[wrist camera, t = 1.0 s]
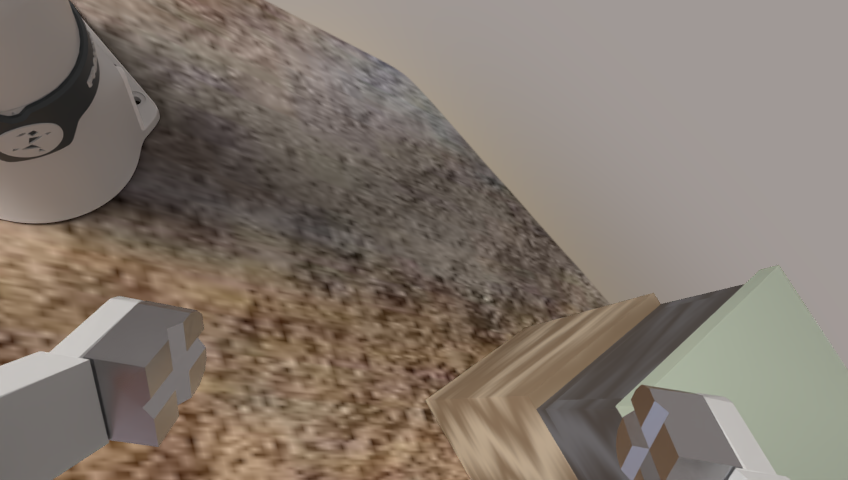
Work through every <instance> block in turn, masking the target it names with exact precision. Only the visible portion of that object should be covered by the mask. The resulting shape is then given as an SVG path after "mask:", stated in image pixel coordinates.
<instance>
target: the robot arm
mask: <svg viewBox="0 0 848 480" xmlns="http://www.w3.org/2000/svg"><path fill="white" fill-rule="evenodd" d="M135 101H139V102H141V103H140V104H138V105H136V102H135ZM159 119H160V112H159V110H158V108H157V106H156V104H155V103H154V102H153V100H152V99H151V98H150V97H149V96H148V95H147V93H146V92H145V91H144V90H143V89H142V88H141V86H140V85H139V84H138V83H137V82H136V81H135V79H134V78H133V77H132V76H131V75H130V74H129V72H128V71H127V70H126V69H125V68H124V67H123V65H122V64H121V63H120V62H119V61H118V60H117V58H116V57H115V56H114V55H113V54H112V53H111V51H110V50H109V49H108V48H107V47H106V46H105V44H104V43H103V42H102V41H101V40H100V39H99V37H98V36H97V35H96V34H95V33H94V32H93V30H92V29H91V28H90V27H89V26H88V24H87V23H86V22H85V21H84V20H83V19H82V17H81V16H80V14H79V13H78V11H77V10H76V8H75V7H74V5H73V4H72V3H71V2H70V1H69V0H0V219H3V220H8V221H13V222H21V223H50V222H57V221H63V220H68V219H71V218H75V217H78V216H81V215H84V214H86V213H89V212H91V211H93V210H95V209H97V208H99V207H101V206H102V205H104V204H105V203H107V202H108V201H110V200H111V199H112V198H113V197H115V196H116V195H117V194H118V193H119V192H120V191H121V190H122V189H123V188H124V187H125V186H126V184H127V183H128V182H129V180H130V179H131V177H132V175H133V173H134V171H135V169H136V167H137V164H138V161H139V157H140V152H141V147H142V144H143V142H144V139H145V138H146V137H147V136H148V135H149V133H150V132H151V131H152V130H153V129H154V127H155V126H156V125H157V123H158V121H159ZM203 329H204V325H203V317H202V314H201V313H200V312H198V311H197V310H192V309H187V308H182V307H176V306H171V305H166V304H161V303H155V302H150V301H142V300H137V299H132V298H126V297H121V296H118V297H114V298H111V299H109V300H108V301H107V302H106V303H105V304H104V305H102V306H101V307H100V308H99V309H98V310H97V311H96V312H94V313H93V314H92V315H91V316H90V317H89V318H88V319H87V320H85V321H84V322H83V323H82V324H81V325H80V326H79V327H77V328H76V329H75V330H74V331H73V332H72V333H71V334H70V335H68V336H67V337H66V338H65V339H64V340H63V341H62V342H60V343H59V344H58V345H57V346H56V347H55V348H54V349H53V350H51V351H50V352H49V353H48V352H41V351H39V352H37V353H34V354H31V355H29V356H26V357H23V358H21V359H18V360H15V361H12V362H10V363H7V364H4V365H2V366H0V480H53V479H54V478H56V477H57V476H59V475H60V474H62V473H63V472H65V471H66V470H68V469H70V468H71V467H73V466H74V465H76V464H77V463H79V462H80V461H82V460H83V459H85V458H86V457H88V456H89V455H91V454H92V453H94V452H96V451H97V450H99V449H100V448H102V447H103V446H105V445H106V444H108V443H109V440H113V441H120V442H127V443H134V444H141V445H149V446H156V447H159V445H160V444H161V442H162V441H163V439H164V438H165V436H166V435H167V433H168V432H169V430H170V429H171V427H172V426H173V425H174V423H175V422H176V420H177V419H178V417H179V413H178V405H179V404H180V403H182V402H184V401H186V400H188V399H190V398H191V397H192V396H193V394H194V393H195V391H196V390H197V388H198V387H199V385H200V382H201V379H202V377H203V374H204V371H205V365H206V347H205V346H204V345H203V344H202V342H201V341H200V340H199V339H198V338H197V337H198V336H199V335H200V333H201V332H202V331H203ZM631 402H632V405H633V407H634V411H632V412H630V413H629V414H627V415H625V416H624V417H623V418H622V420H621V423H620V425H619V427H618V430H617V438H616V452H617V459H618V462H619V466H620V469H621V470H622V472H623V473H624V474H625V475H626V476H627V477H628V478H629V479H630V480H790V479H789V478H788V477H786V476H781V475H777V474H776V472H775V471H774V469H773V467H772V466H771V464H770V462H769V461H768V459H767V458H766V456H765V454H764V453H763V451H762V449H761V448H760V446H759V445H758V443H757V441H756V440H755V438H754V436H753V435H752V433H751V432H750V430H749V428H748V427H747V425H746V423H745V422H744V420H743V419H742V417H741V415H740V414H739V412H738V411H737V409H736V407H735V406H734V404H733V403H732V402H731V401H730V400H729V399H727V398H726V397H723V396H716V395H709V394H702V393H692V392H685V391H679V390H673V389H667V388H660V387H654V386H648V385H640V386H639V387H638V388H637V389H636V390H635V392H634V394H633V396H632V398H631Z"/></svg>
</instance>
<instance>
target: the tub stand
mask: <svg viewBox="0 0 848 480" xmlns="http://www.w3.org/2000/svg"><path fill="white" fill-rule="evenodd" d="M742 286H743V285H739V286H735V287H731V288H727V289H723V290H719V291H715V292H710V293H706V294H702V295H698V296H694V297H689V298H685V299H681V300H677V301H672V302H669V303H664V304H660V302H659V301H658V299H657V298H656V296H655V294H654V293H652V294H648V295H645V296H640V297H637V298H633V299H629V300H626V301H622V302H619V303H615V304H611V305H607V306H603V307H600V308H596V309H592V310H588V311H585V312H581V313H577V314H574V315H570V316H566V317H563V318H559V319H555V320H551V321H548V322H544V323H540V324H537V325H533V326H529V327H526V328H525V329H523V330H522V331H520V332H519V333H518V334H516V335H515V336H514V337H512V338H511V339H509V340H508V341H507V342H505V343H504V344H502V345H501V346H500V347H498V348H497V349H496V350H494V351H493V352H491V353H490V354H489V355H487V356H486V357H484V358H483V359H482V360H480V361H479V362H478V363H476V364H475V365H473V366H472V367H471V368H469V369H468V370H467V371H465V372H464V373H462V374H461V375H460V376H458V377H457V378H455V379H454V380H453V381H451V382H450V383H449V384H447V385H446V386H444V387H443V388H442V389H440V390H439V391H437V392H436V393H435V394H433V395H432V396H431V397H429V398H428V399H426V400H425V401H426V402H427V404H428V406H429V408H430V409H431V411H432V413H433V415H434V416H435V418H436V420H437V422H438V423H439V425H440V427H441V429H442V430H443V432H444V434H445V436H446V437H447V439H448V441H449V443H450V444H451V446H452V448H453V450H454V451H455V453H456V455H457V457H458V458H459V460H460V462H461V464H462V465H463V467H464V469H465V471H466V472H467V474H468V476H469V477H470V479H471V480H630V479H629V478H628V477H627V476H626V475H625V474H624V473H623V472H622V470H621V469H620V466H619V462H618V459H617V452H616V438H617V430H618V427H619V425H620V423H621V420H622V416H621V414H620V413H619V411H618V410H617V408H616V405H617V404H618V403H619V402H620V401H621V400H622V399H623V398H624V397H625V396H627V395H628V394H629V393H630V392H631V391H632V390H633V389H634V388H635V387H636V386H637V385H638V384H639V383H640V382H641V381H642V380H644V379H645V378H646V377H647V376H648V375H649V374H650V373H651V372H652V371H653V370H654V369H655V368H656V367H657V366H658V365H659V364H661V363H662V362H663V361H664V360H665V359H666V358H667V357H668V356H669V355H670V354H671V353H672V352H673V351H674V350H675V349H676V348H678V347H679V346H680V345H681V344H682V343H683V342H684V341H685V340H686V339H687V338H688V337H689V336H690V335H691V334H692V333H693V332H695V331H696V330H697V329H698V328H699V327H700V326H701V325H702V324H703V323H704V322H705V321H706V320H707V319H708V318H709V317H710V316H712V315H713V314H714V313H715V312H716V311H717V310H718V309H719V308H720V307H721V306H722V305H723V304H724V303H725V302H726V301H727V300H729V299H730V298H731V297H732V296H733V295H734V294H735V293H736V292H737V291H738V290H739V289H740V288H741V287H742Z"/></svg>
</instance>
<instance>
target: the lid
mask: <svg viewBox="0 0 848 480" xmlns="http://www.w3.org/2000/svg"><path fill="white" fill-rule="evenodd" d="M640 385H648V386H654V387H660V388H667V389H673V390H679V391H685V392H692V393H702V394H709V395H716V396H723V397H726V398H727V399H729V400H730V401H731V402H732V403H733V404H734V406H735V407H736V409H737V411H738V412H739V414H740V415H741V417H742V419H743V420H744V422H745V423H746V425H747V427H748V428H749V430H750V432H751V433H752V435H753V436H754V438H755V440H756V441H757V443H758V445H759V446H760V448H761V449H762V451H763V453H764V454H765V456H766V458H767V459H768V461H769V462H770V464H771V466H772V467H773V469H774V471H775V472H776V474H777V475H781V476H786V477H788V478H789V479H790V480H848V370H847V368H846V366H845V365H844V363H843V362H842V360H841V359H840V357H839V356H838V354H837V353H836V351H835V350H834V348H833V347H832V345H831V344H830V342H829V341H828V339H827V337H826V336H825V334H824V333H823V331H822V330H821V328H820V327H819V325H818V324H817V322H816V321H815V319H814V318H813V316H812V315H811V313H810V312H809V310H808V308H807V307H806V305H805V304H804V302H803V301H802V299H801V298H800V296H799V295H798V293H797V292H796V290H795V289H794V287H793V286H792V284H791V283H790V281H789V280H788V278H787V277H786V275H785V274H784V272H783V270H782V269H781V267H780V266H779V265H777V266H773V267H769V268H765V269H761V270H759V271H758V272H757V273H756V274H755V275H754V276H753V277H752V278H751V279H750V280H749V281H748V282H747V283H746V284H744V285H743V286H742V287H741V288H740V289H739V290H738V291H737V292H736V293H735V294H734V295H733V296H732V297H731V298H730V299H729V300H727V301H726V302H725V303H724V304H723V305H722V306H721V307H720V308H719V309H718V310H717V311H716V312H715V313H714V314H713V315H712V316H710V317H709V318H708V319H707V320H706V321H705V322H704V323H703V324H702V325H701V326H700V327H699V328H698V329H697V330H696V331H695V332H693V333H692V334H691V335H690V336H689V337H688V338H687V339H686V340H685V341H684V342H683V343H682V344H681V345H680V346H679V347H678V348H676V349H675V350H674V351H673V352H672V353H671V354H670V355H669V356H668V357H667V358H666V359H665V360H664V361H663V362H662V363H661V364H659V365H658V366H657V367H656V368H655V369H654V370H653V371H652V372H651V373H650V374H649V375H648V376H647V377H646V378H645V379H644V380H642V381H641V382H640V383H639V384H638V385H637V386H636V387H635V388H634V389H633V390H632V391H631V392H630V393H629V394H628V395H627V396H625V397H624V398H623V399H622V400H621V401H620V402H619V403H618V404H617V405H616V408H617V410H618V411H619V413H620V414H621V416H622V418H623V417H624V416H625V415H627V414H629V413H630V412H632V411H634V407H633V405H632V402H631V398H632V396H633V394H634V392H635V390H636V389H637V388H638V387H639V386H640Z"/></svg>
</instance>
